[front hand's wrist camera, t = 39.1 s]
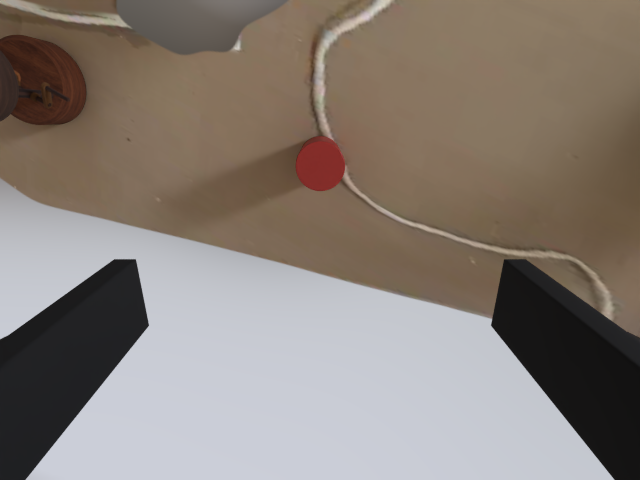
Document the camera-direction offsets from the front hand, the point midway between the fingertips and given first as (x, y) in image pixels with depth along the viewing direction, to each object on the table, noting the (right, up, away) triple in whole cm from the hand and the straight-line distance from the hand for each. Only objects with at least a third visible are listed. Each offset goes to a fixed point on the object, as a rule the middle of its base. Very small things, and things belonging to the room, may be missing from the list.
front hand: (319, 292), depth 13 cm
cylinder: (0, +14, +38) cm, 41 cm away
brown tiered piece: (-36, +23, +35) cm, 55 cm away
